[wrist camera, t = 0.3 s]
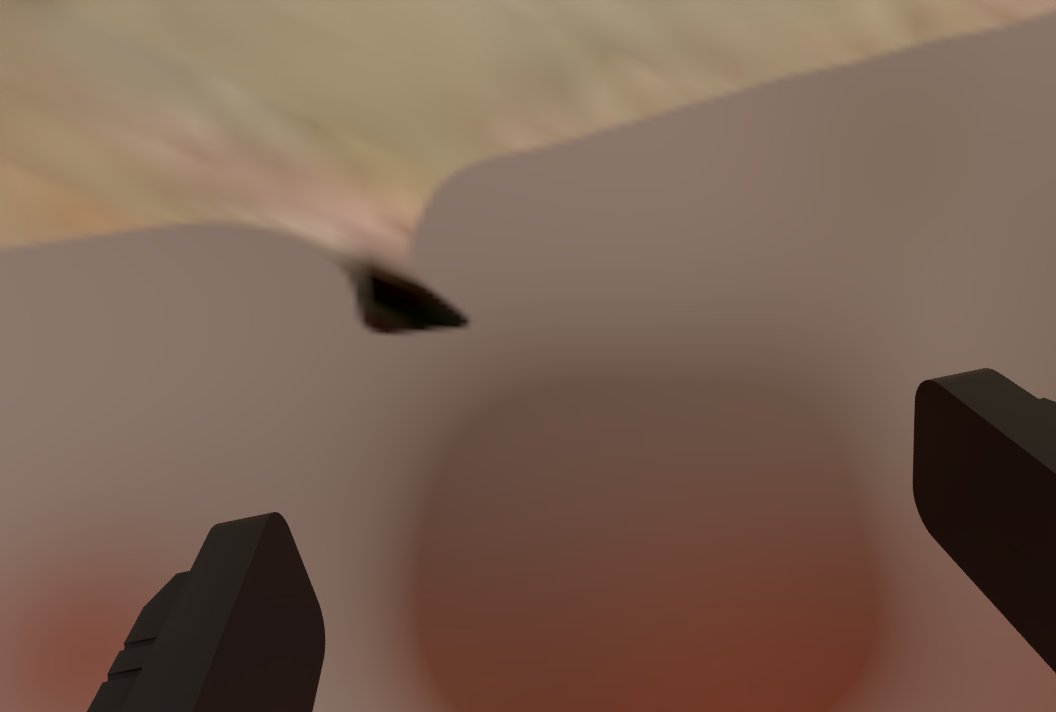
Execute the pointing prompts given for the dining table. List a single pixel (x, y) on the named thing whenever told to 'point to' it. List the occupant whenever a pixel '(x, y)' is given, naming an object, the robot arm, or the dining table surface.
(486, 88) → the dining table surface
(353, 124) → the dining table surface
